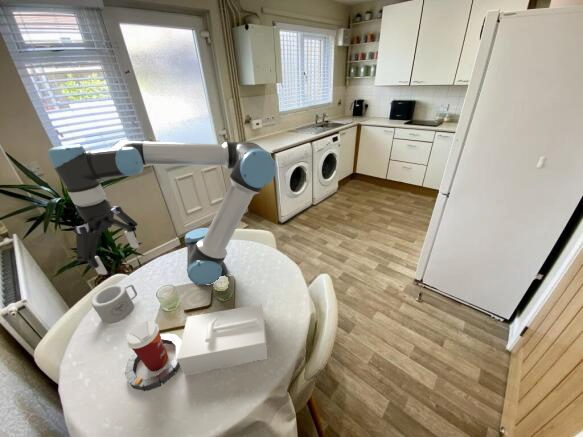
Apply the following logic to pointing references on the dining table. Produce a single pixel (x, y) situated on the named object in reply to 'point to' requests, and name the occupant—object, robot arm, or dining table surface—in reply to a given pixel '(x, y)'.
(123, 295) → the mug
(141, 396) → the dining table surface
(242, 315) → the white hammer box
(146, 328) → the coffee cup
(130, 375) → the grey stone ring
